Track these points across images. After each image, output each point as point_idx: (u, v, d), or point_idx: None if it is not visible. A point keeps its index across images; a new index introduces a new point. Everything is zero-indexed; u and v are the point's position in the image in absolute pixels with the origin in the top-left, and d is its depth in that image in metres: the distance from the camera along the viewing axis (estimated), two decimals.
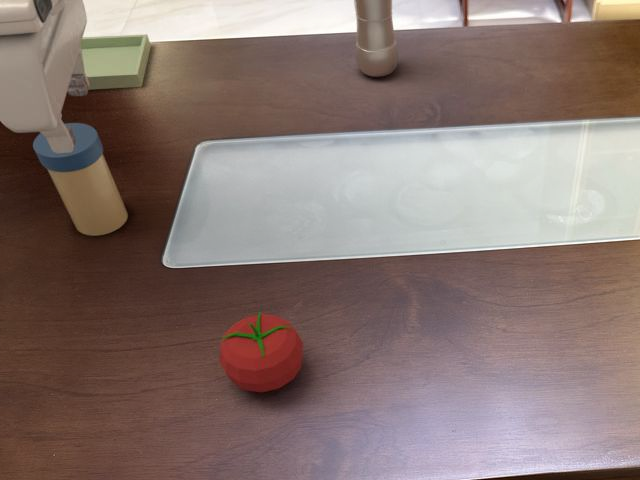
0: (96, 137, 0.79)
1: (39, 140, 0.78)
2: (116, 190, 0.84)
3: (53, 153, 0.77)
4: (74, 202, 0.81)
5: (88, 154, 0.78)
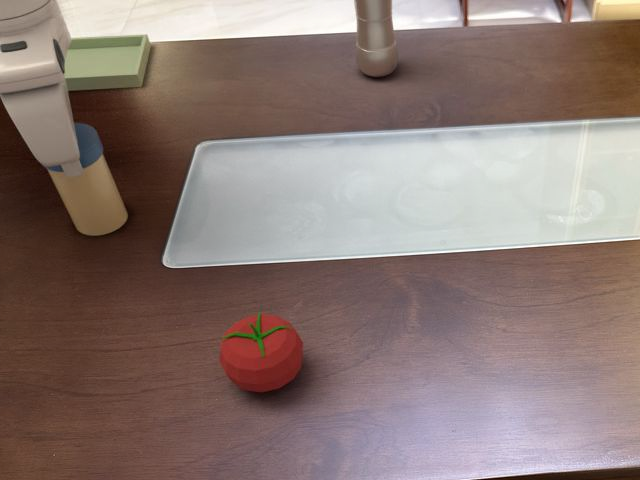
0: (96, 137, 0.79)
1: None
2: (116, 190, 0.84)
3: None
4: (74, 202, 0.81)
5: (88, 154, 0.78)
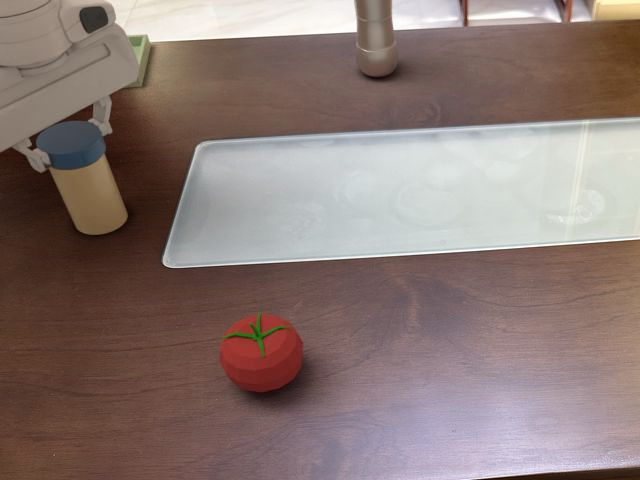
0: (56, 124, 0.80)
1: (77, 148, 0.77)
2: (117, 190, 0.84)
3: (93, 131, 0.80)
4: (74, 201, 0.81)
5: None
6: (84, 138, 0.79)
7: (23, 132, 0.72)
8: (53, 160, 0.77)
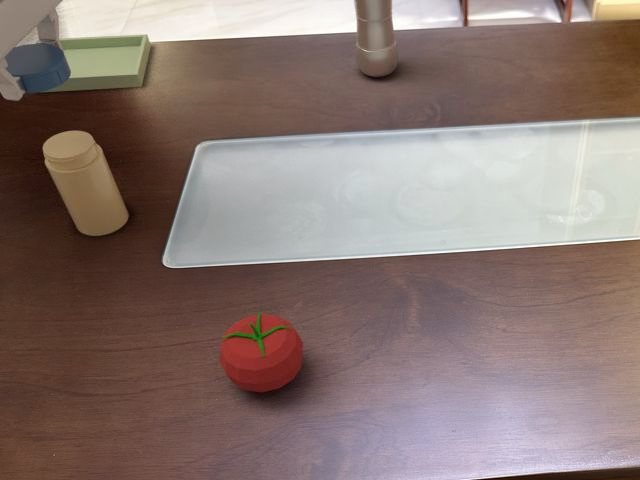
0: None
1: (49, 65, 0.71)
2: (117, 189, 0.84)
3: (53, 49, 0.73)
4: (76, 202, 0.81)
5: None
6: (48, 56, 0.72)
7: (3, 47, 0.65)
8: (26, 83, 0.70)
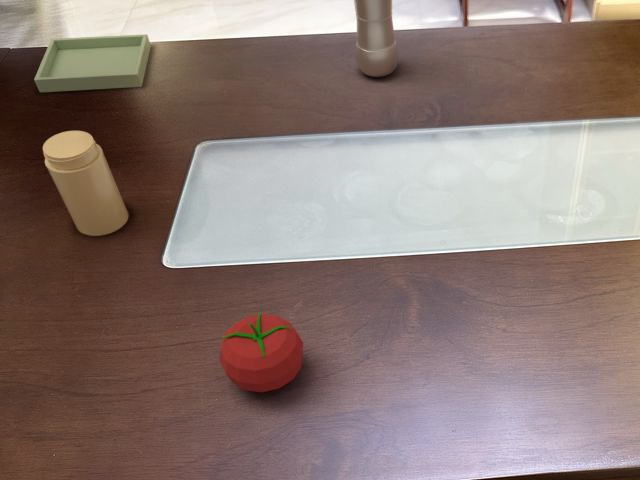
0: None
1: None
2: (117, 189, 0.84)
3: None
4: (76, 202, 0.81)
5: None
6: None
7: None
8: None
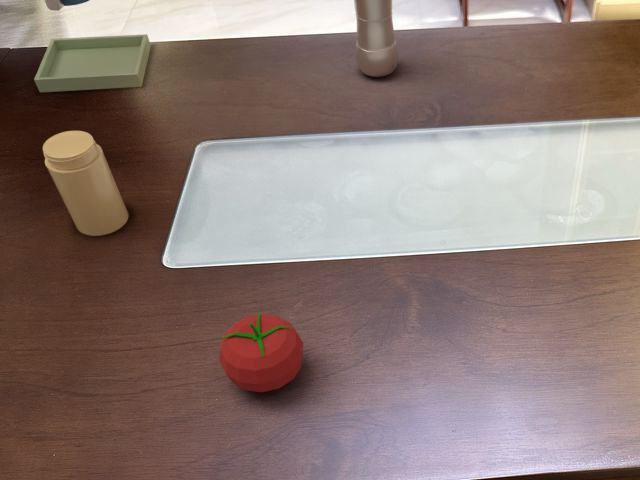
0: None
1: None
2: (117, 189, 0.84)
3: None
4: (76, 202, 0.81)
5: None
6: None
7: None
8: None
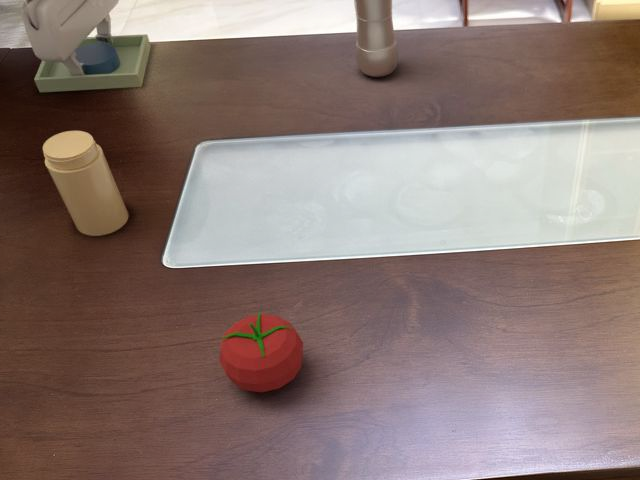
0: None
1: (107, 58, 1.07)
2: (117, 189, 0.84)
3: (108, 47, 1.09)
4: (76, 202, 0.81)
5: None
6: (105, 52, 1.08)
7: (76, 41, 1.01)
8: (93, 70, 1.06)
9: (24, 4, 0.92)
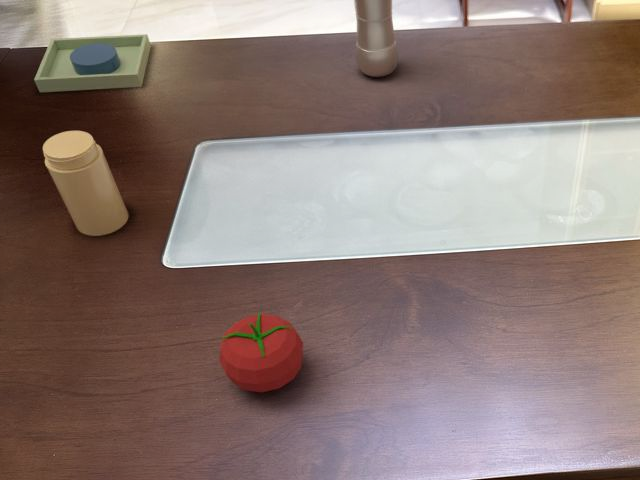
0: (75, 49, 1.08)
1: (107, 58, 1.07)
2: (117, 189, 0.84)
3: (108, 47, 1.09)
4: (76, 202, 0.81)
5: None
6: (105, 52, 1.08)
7: None
8: (93, 70, 1.06)
9: None
